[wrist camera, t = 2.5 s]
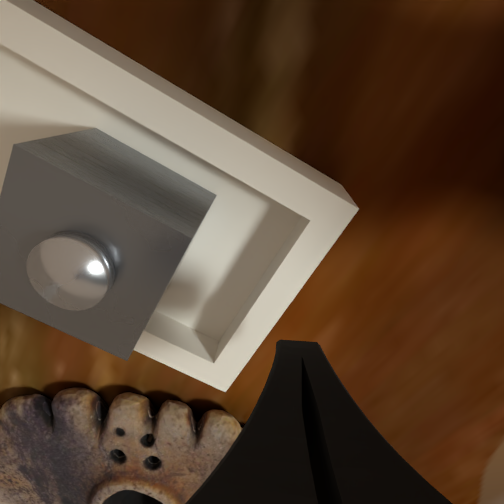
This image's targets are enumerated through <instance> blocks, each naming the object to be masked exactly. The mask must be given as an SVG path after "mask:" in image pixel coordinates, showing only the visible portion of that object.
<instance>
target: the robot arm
mask: <svg viewBox="0 0 504 504" xmlns="http://www.w3.org/2000/svg"><path fill="white" fill-rule="evenodd" d="M185 504H452V503H451V502H450V501H449V500H448V499H446V498H445V497H444V496H443V495H442V494H441V493H439V492H438V491H437V490H436V489H435V488H434V487H433V486H431V485H430V484H429V483H428V482H427V481H426V480H425V479H424V478H423V477H422V476H421V475H420V474H419V473H418V472H417V471H416V470H414V469H413V468H412V467H411V466H410V465H409V464H408V463H407V462H406V461H405V460H404V459H403V458H402V457H401V456H400V455H399V454H398V453H397V452H396V451H395V450H394V448H393V447H392V446H391V445H390V444H389V443H388V442H387V441H386V440H385V439H384V438H383V436H382V435H381V434H380V433H379V432H378V431H377V430H376V428H375V427H374V426H373V425H372V423H371V422H370V421H369V420H368V419H367V417H366V416H365V415H364V413H363V412H362V411H361V409H360V408H359V407H358V405H357V404H356V403H355V401H354V400H353V399H352V397H351V396H350V394H349V393H348V391H347V390H346V388H345V387H344V386H343V384H342V383H341V381H340V380H339V378H338V376H337V375H336V373H335V372H334V370H333V368H332V367H331V365H330V363H329V362H328V360H327V358H326V356H325V354H324V353H323V351H322V349H321V347H320V345H319V344H318V343H317V342H306V341H291V340H279V341H278V342H277V343H276V354H275V358H274V362H273V365H272V369H271V371H270V374H269V377H268V379H267V382H266V384H265V387H264V389H263V391H262V393H261V395H260V397H259V400H258V402H257V404H256V406H255V408H254V410H253V412H252V413H251V415H250V417H249V419H248V421H247V422H246V424H245V426H244V427H243V429H242V431H241V432H240V434H239V435H238V437H237V438H236V440H235V441H234V443H233V444H232V446H231V447H230V449H229V450H228V452H227V453H226V455H225V456H224V457H223V459H222V460H221V461H220V462H219V464H218V465H217V466H216V468H215V469H214V470H213V472H212V473H211V474H210V475H209V477H208V478H207V479H206V480H205V482H204V483H203V484H202V485H201V486H200V488H199V489H198V490H197V491H196V492H195V493H194V494H193V495H192V496H191V498H190V499H189V500H188V501H187V502H186V503H185Z"/></svg>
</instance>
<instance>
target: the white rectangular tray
mask: <svg viewBox="0 0 504 504" xmlns="http://www.w3.org/2000/svg"><path fill="white" fill-rule="evenodd" d="M93 128H97V129H99V130H101V131H102V132H104V133H106V134H108V135H110V136H111V137H113V138H115V139H117V140H119V141H120V142H122V143H124V144H126V145H128V146H129V147H131V148H133V149H135V150H137V151H138V152H140V153H142V154H144V155H145V156H147V157H149V158H151V159H153V160H154V161H156V162H158V163H160V164H162V165H163V166H165V167H167V168H169V169H171V170H172V171H174V172H176V173H178V174H180V175H181V176H183V177H185V178H187V179H189V180H190V181H192V182H194V183H196V184H198V185H199V186H201V187H203V188H205V189H207V190H208V191H210V192H212V193H214V194H216V195H217V196H216V198H215V199H214V201H213V203H212V205H211V207H210V209H209V211H208V213H207V214H206V216H205V218H204V220H203V222H202V224H201V226H200V228H199V229H198V231H197V233H196V235H195V237H194V239H193V241H192V243H191V244H190V246H189V248H188V250H187V252H186V254H185V256H184V258H183V259H182V261H181V263H180V265H179V267H178V269H177V271H176V273H175V274H174V276H173V278H172V280H171V282H170V284H169V286H168V288H167V289H166V291H165V293H164V295H163V297H162V299H161V300H160V302H159V304H158V306H157V308H156V309H155V311H154V313H153V315H152V317H151V318H150V320H149V322H148V324H147V326H146V328H145V329H144V331H143V333H142V335H141V337H140V338H139V340H138V342H137V344H136V346H135V348H134V349H133V350H135V351H137V352H139V353H141V354H144V355H146V356H148V357H150V358H152V359H154V360H157V361H159V362H161V363H163V364H165V365H167V366H170V367H172V368H174V369H176V370H178V371H180V372H183V373H185V374H187V375H189V376H191V377H193V378H196V379H198V380H200V381H202V382H204V383H206V384H209V385H211V386H213V387H215V388H217V389H219V390H222V391H224V392H226V391H227V390H228V388H229V387H230V385H231V384H232V383H233V381H234V380H235V379H236V377H237V376H238V374H239V373H240V372H241V370H242V369H243V368H244V366H245V365H246V363H247V362H248V361H249V359H250V358H251V357H252V355H253V354H254V352H255V351H256V350H257V348H258V347H259V346H260V344H261V343H262V342H263V340H264V339H265V337H266V336H267V335H268V333H269V332H270V331H271V329H272V328H273V326H274V325H275V324H276V322H277V321H278V320H279V318H280V317H281V315H282V314H283V313H284V311H285V310H286V309H287V307H288V306H289V304H290V303H291V302H292V300H293V299H294V298H295V296H296V295H297V293H298V292H299V291H300V289H301V288H302V287H303V285H304V284H305V283H306V281H307V280H308V278H309V277H310V276H311V274H312V273H313V272H314V270H315V269H316V267H317V266H318V265H319V263H320V262H321V261H322V259H323V258H324V256H325V255H326V254H327V252H328V251H329V250H330V248H331V247H332V245H333V244H334V243H335V241H336V240H337V239H338V237H339V236H340V234H341V233H342V232H343V230H344V229H345V228H346V226H347V225H348V224H349V222H350V221H351V219H352V218H353V217H354V215H355V214H356V213H357V211H358V210H359V208H358V207H357V205H356V204H355V202H354V201H353V200H352V198H351V197H350V196H349V194H348V193H347V191H346V190H345V189H344V187H343V186H342V185H341V184H339V183H338V182H336V181H334V180H333V179H331V178H329V177H328V176H326V175H324V174H323V173H321V172H319V171H318V170H316V169H314V168H313V167H311V166H309V165H308V164H306V163H304V162H303V161H301V160H299V159H298V158H296V157H294V156H293V155H291V154H289V153H288V152H286V151H284V150H283V149H281V148H279V147H278V146H276V145H274V144H273V143H271V142H269V141H268V140H266V139H264V138H263V137H261V136H259V135H258V134H256V133H254V132H252V131H251V130H249V129H247V128H246V127H244V126H242V125H241V124H239V123H237V122H236V121H234V120H232V119H231V118H229V117H227V116H226V115H224V114H222V113H221V112H219V111H217V110H216V109H214V108H212V107H211V106H209V105H207V104H206V103H204V102H202V101H201V100H199V99H197V98H196V97H194V96H192V95H191V94H189V93H187V92H186V91H184V90H182V89H181V88H179V87H177V86H176V85H174V84H172V83H171V82H169V81H167V80H166V79H164V78H162V77H161V76H159V75H157V74H156V73H154V72H152V71H150V70H149V69H147V68H145V67H144V66H142V65H140V64H139V63H137V62H135V61H134V60H132V59H130V58H129V57H127V56H125V55H124V54H122V53H120V52H119V51H117V50H115V49H114V48H112V47H110V46H109V45H107V44H105V43H104V42H102V41H100V40H99V39H97V38H95V37H94V36H92V35H90V34H89V33H87V32H85V31H84V30H82V29H80V28H79V27H77V26H75V25H74V24H72V23H70V22H69V21H67V20H65V19H64V18H62V17H60V16H59V15H57V14H55V13H54V12H52V11H50V10H48V9H47V8H45V7H43V6H42V5H40V4H38V3H37V2H35V1H33V0H0V194H1V191H2V187H3V183H4V179H5V175H6V171H7V167H8V163H9V159H10V156H11V152H12V148H13V144H17V143H22V142H27V141H32V140H37V139H42V138H47V137H52V136H57V135H62V134H67V133H73V132H78V131H83V130H88V129H93Z"/></svg>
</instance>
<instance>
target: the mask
mask: <svg viewBox="0 0 504 504" xmlns="http://www.w3.org/2000/svg"><path fill="white" fill-rule="evenodd" d="M242 429H243V428H241V427H240V424H239V423H238V421H237V420H236V419H235V418H234V417H233V416H232V415H231V414H230V413H228V412H225V411H223V410H213V409H212V410H209V411H207V412H206V413H204V415H203V416H202V418H201V419H200V421H199V422H196V420H195V418H194V415H193V412H192V409H191V408H190V407H189V406H188V405H187V404H185V403H182V402H180V401H174V400H166V401H165V402H164V403H163V404H162V405H161V407H160V409H159V411H158V412H157V411H156V409H155V407H154V406H153V405H152V403H151V402H150V400H149V399H148V398H147V397H145V396H142V395H139V394H135V393H131V392H127V393H122V394H119V395H117V396H116V397H115V398H114V399H113V401H112V403H111V405H110V407H109V408H108V406H107V405H106V403H105V402H104V401H103V399H102V398H101V397H100V396H99V395H98V394H96V393H95V392H93V391H91V390H89V389H86V388H68V389H64V390H61V391H60V392H58V393H57V394H56V395H55V396H54V398H53V401H51V400H50V399H48V398H47V397H45V396H43V395H40V394H32V395H23V396H18V397H13V398H11V399H9V400H8V401H7V402H6V403H5V404H3V406H2V408H1V409H0V504H185V503H186V502H187V501H188V500H189V499H190V498H191V496H192V495H193V494H194V493H195V492H196V491H197V490H198V489H199V488H200V486H201V485H202V484H203V483H204V482H205V480H206V479H207V478H208V477H209V475H210V474H211V473H212V472H213V470H214V469H215V468H216V466H217V465H218V464H219V462H220V461H221V460H222V459H223V457H224V456H225V455H226V453H227V452H228V450H229V449H230V447H231V446H232V444H233V443H234V441H235V440H236V438H237V437H238V435H239V434H240V432H241V431H242Z"/></svg>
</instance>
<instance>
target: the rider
mask: <svg viewBox="0 0 504 504" xmlns="http://www.w3.org/2000/svg"><path fill="white" fill-rule="evenodd" d="M216 196H217V195H216V194H214V193H212V192H210V191H208V190H207V189H205V188H203V187H201V186H199V185H198V184H196V183H194V182H192V181H190V180H189V179H187V178H185V177H183V176H181V175H180V174H178V173H176V172H174V171H172V170H171V169H169V168H167V167H165V166H163V165H162V164H160V163H158V162H156V161H154V160H153V159H151V158H149V157H147V156H145V155H144V154H142V153H140V152H138V151H137V150H135V149H133V148H131V147H129V146H128V145H126V144H124V143H122V142H120V141H119V140H117V139H115V138H113V137H111V136H110V135H108V134H106V133H104V132H102V131H101V130H99V129H97V128H93V129H88V130H83V131H78V132H73V133H67V134H62V135H57V136H52V137H47V138H42V139H37V140H32V141H27V142H22V143H17V144H13V148H12V152H11V156H10V159H9V163H8V167H7V171H6V175H5V179H4V183H3V187H2V191H1V194H0V303H1V304H3V305H6V306H8V307H10V308H12V309H14V310H16V311H19V312H21V313H23V314H25V315H27V316H30V317H32V318H34V319H36V320H38V321H41V322H43V323H45V324H47V325H49V326H52V327H54V328H56V329H58V330H60V331H63V332H65V333H67V334H69V335H71V336H74V337H76V338H78V339H80V340H82V341H85V342H87V343H89V344H91V345H93V346H96V347H98V348H100V349H102V350H104V351H107V352H109V353H111V354H113V355H115V356H118V357H120V358H122V359H124V360H126V361H127V360H128V358H129V357H130V355H131V353H132V351H133V349H134V348H135V346H136V344H137V342H138V340H139V338H140V337H141V335H142V333H143V331H144V329H145V328H146V326H147V324H148V322H149V320H150V318H151V317H152V315H153V313H154V311H155V309H156V308H157V306H158V304H159V302H160V300H161V299H162V297H163V295H164V293H165V291H166V289H167V288H168V286H169V284H170V282H171V280H172V278H173V276H174V274H175V273H176V271H177V269H178V267H179V265H180V263H181V261H182V259H183V258H184V256H185V254H186V252H187V250H188V248H189V246H190V244H191V243H192V241H193V239H194V237H195V235H196V233H197V231H198V229H199V228H200V226H201V224H202V222H203V220H204V218H205V216H206V214H207V213H208V211H209V209H210V207H211V205H212V203H213V201H214V199H215V198H216Z"/></svg>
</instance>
